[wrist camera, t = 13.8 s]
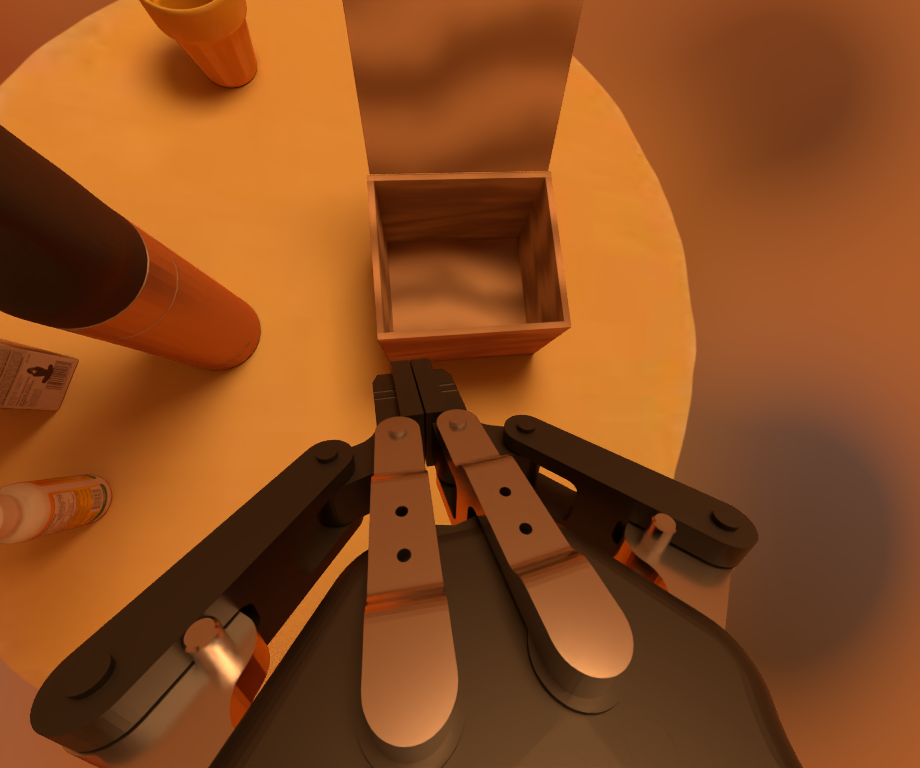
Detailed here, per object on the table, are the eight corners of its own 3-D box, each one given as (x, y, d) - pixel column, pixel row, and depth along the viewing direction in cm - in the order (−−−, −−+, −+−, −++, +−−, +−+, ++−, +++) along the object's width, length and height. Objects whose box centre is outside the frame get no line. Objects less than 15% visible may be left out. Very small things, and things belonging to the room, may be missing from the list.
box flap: (599, -79, 23) (597, -79, 23) (327, -94, 21) (328, -94, 22) (547, 170, 35) (546, 168, 35) (369, 174, 33) (370, 171, 33)
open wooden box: (533, 353, 45) (571, 327, 33) (391, 364, 43) (377, 339, 31) (519, 236, 47) (550, 171, 35) (382, 241, 45) (366, 174, 33)
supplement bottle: (124, 496, 39) (26, 518, 29) (84, 534, 38) (-31, 570, 28) (89, 463, 39) (-20, 474, 29) (48, 500, 38) (-78, 524, 29)
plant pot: (225, 17, 47) (173, -89, 37) (288, 62, 47) (252, -33, 37) (171, 69, 46) (102, -28, 36) (237, 115, 46) (186, 30, 36)
